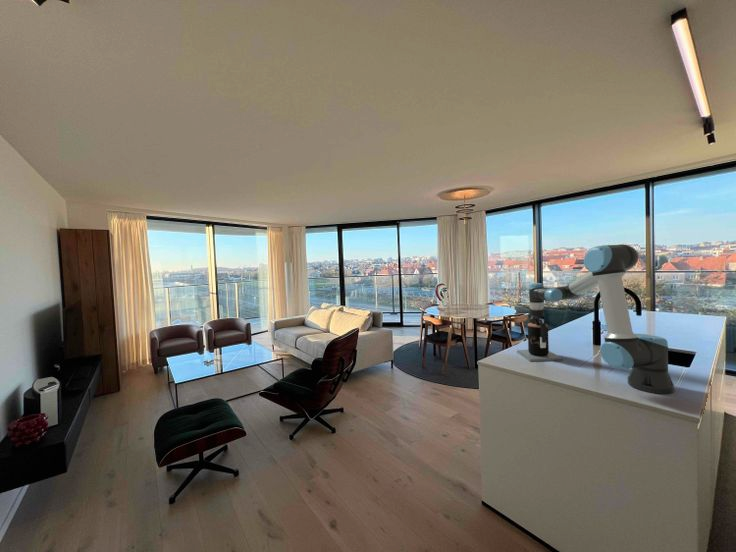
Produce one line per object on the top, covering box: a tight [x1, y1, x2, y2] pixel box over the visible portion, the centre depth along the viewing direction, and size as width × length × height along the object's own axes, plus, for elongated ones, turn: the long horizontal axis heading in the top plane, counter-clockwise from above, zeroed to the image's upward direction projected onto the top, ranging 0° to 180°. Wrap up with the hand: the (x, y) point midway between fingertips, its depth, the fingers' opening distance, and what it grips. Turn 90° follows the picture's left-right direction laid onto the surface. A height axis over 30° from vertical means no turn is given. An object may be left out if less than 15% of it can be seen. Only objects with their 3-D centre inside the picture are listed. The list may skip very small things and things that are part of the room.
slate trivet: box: [516, 349, 563, 363], centre depth 182 cm, size 18×18×1 cm
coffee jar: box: [527, 323, 550, 356], centre depth 181 cm, size 11×11×18 cm
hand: (538, 344), depth 181 cm, fingers open, 11 cm apart
